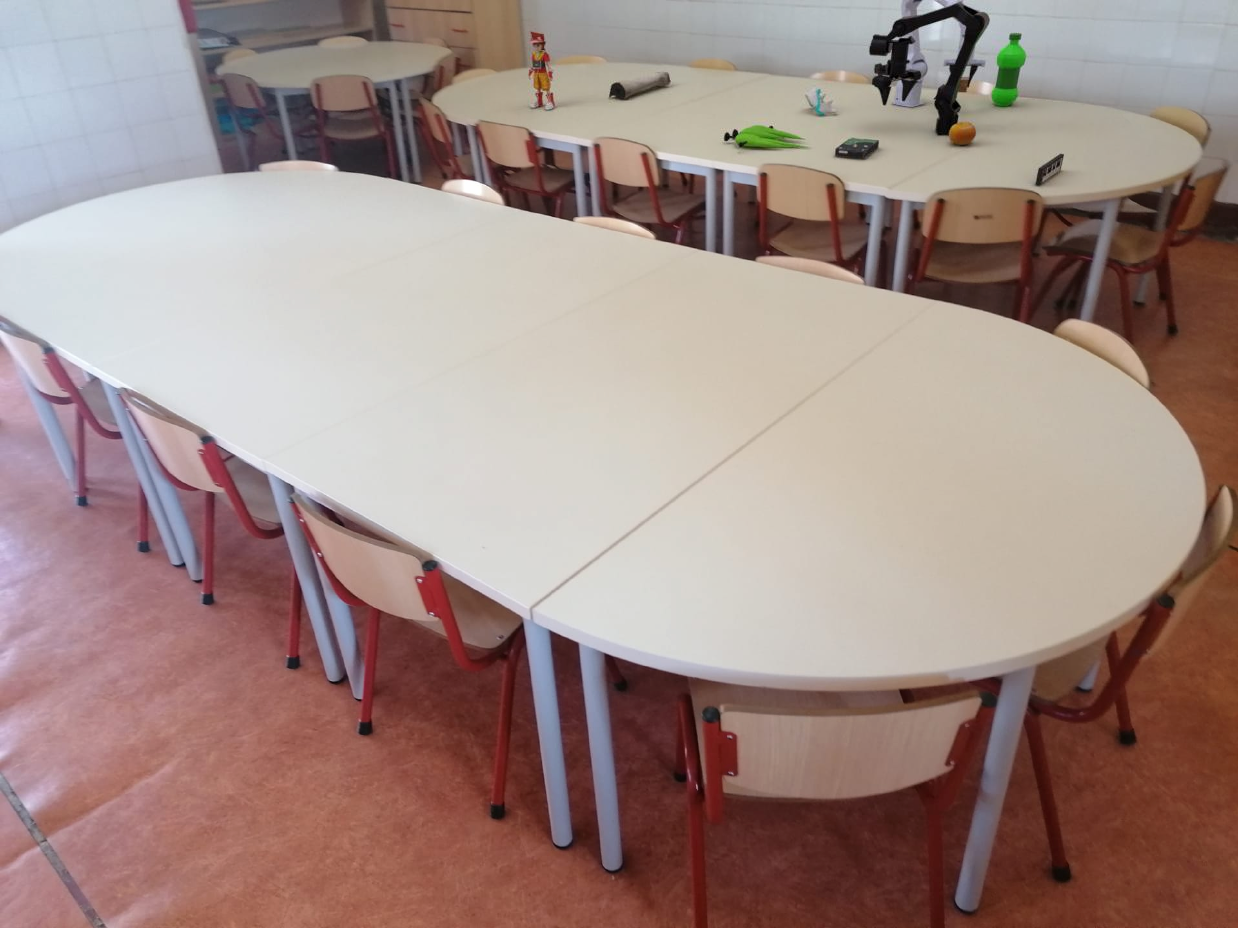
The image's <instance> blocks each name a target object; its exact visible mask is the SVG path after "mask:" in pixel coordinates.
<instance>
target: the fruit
mask: <svg viewBox="0 0 1238 928" xmlns="http://www.w3.org/2000/svg"><path fill="white" fill-rule="evenodd" d="M976 135H977V129H976V126H975V125H974V124H973V123H971V122H969V121H962V122H961V121H960V122H958V123H957V124H955V125H953V126H952V127H951V129H950V131H949V135H948V138H949V141H951V142H952V143H953V144H955V145H961V146H965V145H968V144H970V143H972V142H973V140H974V139H975V138H976Z"/></svg>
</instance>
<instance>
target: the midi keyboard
mask: <svg viewBox="0 0 1238 928" xmlns="http://www.w3.org/2000/svg"><path fill="white" fill-rule="evenodd" d="M1064 157H1065V153H1059V154H1058V155H1056V156H1055V157H1052V159H1051V160H1049V161H1047V162H1045V164H1042V165H1041V166H1039V167H1038V169H1037V175H1036V179H1035V186H1040V185H1042V183H1044V182H1045V181H1047V180H1048V179H1049V178H1051V177H1052V176H1054V175H1055V174H1056V173H1058V172H1060V171H1061V170H1062V165H1063V161H1064Z"/></svg>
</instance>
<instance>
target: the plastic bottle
mask: <svg viewBox="0 0 1238 928" xmlns="http://www.w3.org/2000/svg"><path fill="white" fill-rule="evenodd" d="M1008 40H1009V43H1008V44H1007V45H1006V46H1004V47H1003V48H1002V49H1000V50H999V52H998V53H997V55H996V65H997V67H998V69H997V75H996V81H995V82H996V83H995V86H994V87H993V89H992V90H991V100H992V102H993V103H994V104H995V105H996V106H998V107H1009V106H1011V105H1012V104H1013V103H1014V102H1016V100H1017V99H1018V96H1019V90H1018V83H1019V79H1020V78H1019V77H1020V74H1021V73H1020V72H1021V68H1022V67H1023V66H1024V65H1025V63H1026V59H1027V54H1026V53H1027V52H1026V50H1025V49H1024V48H1023V47H1022V46H1021V45H1020V43H1019V42H1020V41H1021V40H1022V33H1020V32H1011V33H1009V37H1008Z"/></svg>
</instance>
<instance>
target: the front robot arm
mask: <svg viewBox="0 0 1238 928" xmlns="http://www.w3.org/2000/svg"><path fill="white" fill-rule="evenodd" d="M963 3H964V2H963ZM963 3H961V2H957V3H955V4H953V5H950V6H947V7H944V6H943V7H941V8H938V9H934V10H932V11H929V12H926V13H922V14H917V15H913V16H906V17H903V18H902V17H901V18H899V19H896V20H894V22H893V24H892V27H891V30H890V32H889V33H888V34H886V35H885V34H877V33H875V34H873V35H872V38H871V41H870V45H869V47H868V51H869V52H868V53H869V56H877V57H887V56H888V55H889V54H890V58H889V59H887V60H886V64H882V63H881V62H880V63H876V64H874V68H873V73H874V74H875V75H874V76H873V77H872V80H871V86H874V88H877V89H878V91H879V94H880V99H881V104H882V106H887V103H888V100H889V97H890V93H891V90H892V86H891V85H892V84H893V82H898V81H899V80H901V82H902V84H903V89H902V101H905V100H906V98H907V96H908V95H909V93H910V91H911V90H912V88H913V87H914V85H915V84H916V83H917V82H918V80H920V79H921V72H920V71H918V70H914V69H908V70H906V66H907V64H908V63H910V60H907V58H908V50H909V44H913V43H915V42H916V41H915V40H914V39H913V37H912V36H909V37H908V38H904V36H905V35H907V34H909V33H911V32H913V31H914V30H916V29H918V30H919V29H920V28H923V27H926V26H929V25H932V24H936V23H938V22H941V21H945V20H948V19H951V18H952V17H954V18H956V19H957V20H958V21H959V22H960V23H962V24H963V25H965V26H966V30H965V36H964V42H963V45H962V47H961V49H960V52H959V54H958V53H957V55H958V57H957V56H956V58H955V59H956V61H955V64H954V66H953V69H952V71H951V73H950V72H949V76H948V78H947V80H946V83H945V84H944V83H943V84H941V85H940V86H939V87H938V88H937V90H936V91H937V92H936V94H935V96H934V97H933V100H934V101H933V102H934V103H933V105H934V108H935V109H936V111H937V113H938V117H937V118H936V121H935V128H934V130H935V132H936V134H937V135H938V136H946V135H947V136H949V131H950V129H951V127H952V126H953V125H955V124H957V123H959V117H960V116H959V114H958V113H960V111H961V109H962V106H961V104H960V103H959V102H958V100H957V98H958V93H959V92H958V86H959V83H960V80H961V78H962V77H963V75H964V73H965V72H966V69H967V67H968V66H967V64H968V61H969V59H970V57H971V54H972V52H973V50H974V47H975V48H976V45H977V43H978V41H980V39H981V38H982V36H983V34H984V33H985V31H986V30H987V29H988V27H989V25H990V22H991V19H990V16H989V14H988V13H986V12H985V11H980V12H978V11H977V10H978V9H975V8H973V7H972V8H970V7H971V6H969V5H967V4H966V5H967V6H966V5H964V4H965V3H964V4H963ZM954 18H953V19H954ZM959 22H958V23H959ZM896 38H898V39H896Z"/></svg>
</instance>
